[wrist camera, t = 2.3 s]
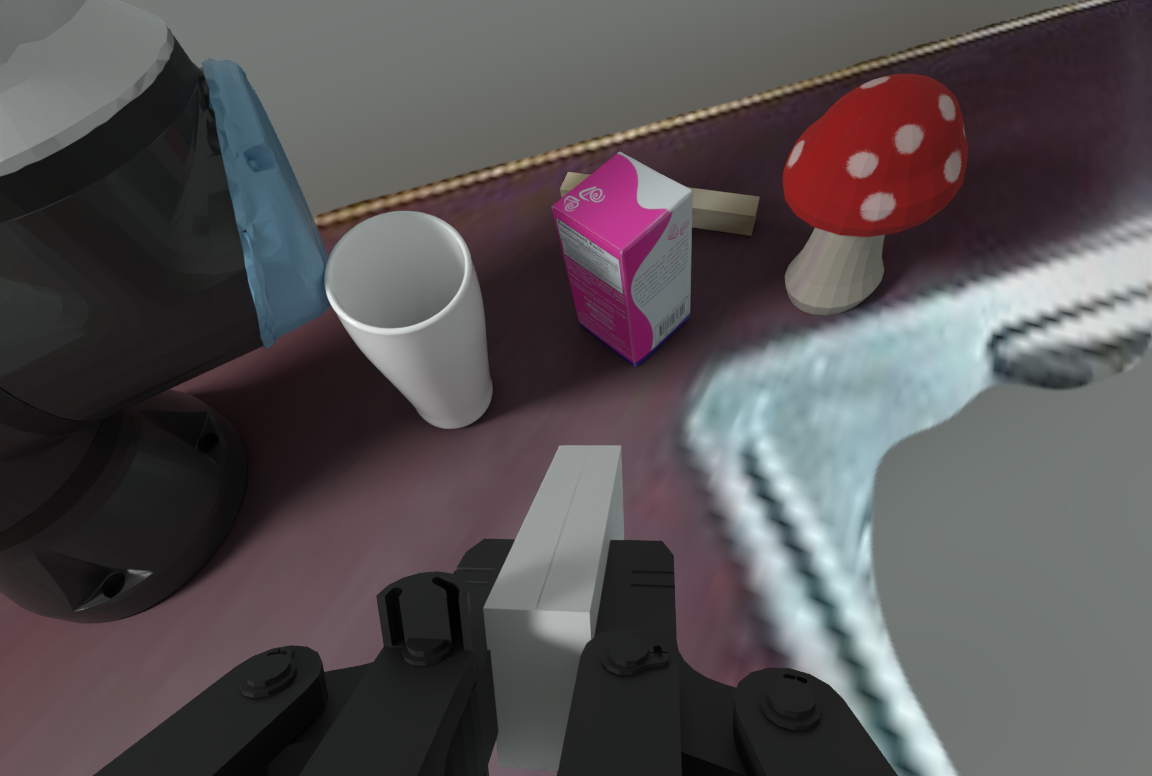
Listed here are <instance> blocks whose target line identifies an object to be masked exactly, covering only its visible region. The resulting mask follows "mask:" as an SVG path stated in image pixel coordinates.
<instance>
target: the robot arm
mask: <svg viewBox="0 0 1152 776" xmlns="http://www.w3.org/2000/svg"><path fill="white" fill-rule="evenodd" d="M202 65H203V67H201V68H198V67H197V66H196V65H195V64H194V63H193V62H192V61H191V60H190V59H189V57H188V56H187V54H186V53H185V51H184V50H183V49H182V47H181V46H180V44H179V43H178V41H177V40H176V38H175V37H174V35H173V34H172V32H171V30H170V29H169V28H168V27H167V25H166V24H165V23H164V22H163V21H162V20H161V19H160V18H159V17H158V16H157V15H155V14H152V13H150V12H147V11H145V10H142V9H139V8H137V7H134V6H132V5H129V4H127V3H124V2H121V1H119V0H0V592H1V593H2V594H4V595H5V596H6V597H8V598H9V599H10V600H12V601H13V602H15V603H16V604H17V605H19V606H20V607H22V608H24V609H26V610H28V611H31V612H33V613H36V614H39V615H42V616H46V617H51V618H56V619H61V620H66V621H71V622H77V623H103V622H109V621H114V620H118V619H122V618H125V617H128V616H131V615H134V614H136V613H138V612H141V611H143V610H145V609H147V608H149V607H151V606H153V605H155V604H156V603H158V602H160V601H161V600H163V599H164V598H166V597H168V596H169V595H170V594H172V593H173V592H175V591H176V590H177V589H179V588H180V587H181V586H182V585H183V584H185V583H186V582H187V581H188V580H189V579H190V578H191V577H193V576H194V575H195V574H196V573H197V572H198V571H199V570H200V569H201V568H202V567H203V565H204V564H205V563H206V562H207V561H208V560H209V559H210V557H211V556H212V555H213V554H214V552H215V551H216V550H217V548H218V547H219V545H220V544H221V543H222V541H223V539H224V538H225V536H226V535H227V533H228V531H229V529H230V528H231V526H232V524H233V522H234V520H235V517H236V515H237V513H238V510H239V508H240V505H241V502H242V498H243V495H244V490H245V485H246V478H247V459H246V453H245V448H244V445H243V442H242V440H241V437H240V435H239V433H238V432H237V430H236V429H235V427H234V426H233V425H232V424H231V422H230V421H229V420H227V419H226V418H225V417H224V416H223V415H221V414H220V413H218V412H217V411H216V410H214V409H213V408H211V407H210V406H209V405H207V404H206V403H204V402H203V401H201V400H199V399H198V398H195V397H193V396H191V395H189V394H186V393H183V392H179V391H175V390H171V389H170V388H173V387H175V386H177V385H179V384H181V383H183V382H186V381H188V380H190V379H192V378H194V377H197V376H199V375H201V374H203V373H205V372H207V371H210V370H212V369H214V368H216V367H218V366H221V365H223V364H225V363H227V362H229V361H231V360H234V359H236V358H238V357H240V356H242V355H245V354H247V353H249V352H251V351H253V350H255V349H258V348H260V347H262V346H263V347H264V348H268V347H271V346H272V345H273V344H274V343H275V340H276V339H277V338H279V337H281V336H283V335H285V334H287V333H289V332H291V331H293V330H294V329H296V328H298V327H300V326H302V325H304V324H306V323H308V322H310V321H312V320H314V319H316V318H318V317H319V316H321V315H322V314H323V313H324V312H325V311H327V309H328V308H329V307H330V305H331V304H330V302H329V300H328V297H327V294H326V291H325V285H324V274H325V268H326V264H327V261H328V258H329V257H328V254H327V252H326V249H325V246H324V244H323V241H322V238H321V236H320V233H319V231H318V228H317V226H316V224H315V221H314V219H313V216H312V214H311V211H310V209H309V207H308V204H307V202H306V200H305V197H304V195H303V192H302V190H301V188H300V186H299V184H298V181H297V179H296V177H295V174H294V172H293V170H292V168H291V165H290V163H289V161H288V158H287V156H286V154H285V152H284V150H283V147H282V145H281V143H280V141H279V139H278V137H277V134H276V132H275V130H274V128H273V126H272V124H271V122H270V120H269V118H268V115H267V113H266V111H265V109H264V107H263V105H262V103H261V101H260V100H259V98H258V96H257V94H256V92H255V90H254V89H253V88H252V86H251V84H250V83H249V81H248V79H247V76H246V74H245V72H244V71H243V69H242V68H241V67H240V66H239V65H238V64H237V63H235V62H233V61H230V60H223V61H215V60H213V59H208V60H206V61H204V62H203V63H202ZM376 597H377V603H378V610H379V616H380V623H381V630H382V636H383V643H384V647H383V649H382V650H381V652H380V653H379V655H378V656H377V658H376V659H375V661H374V662H372V663H368V664H364V665H360V666H355V667H349V668H344V669H338V670H333V671H327V672H324V669H323V664H322V661H321V658H320V656H319V654H318V652H316V651H314V650H312V649H310V648H308V647H303V646H286V647H280V648H274V649H270V650H268V651H265V652H263V653H260V654H258V655H255V656H253V657H251V658H249V659H248V660H246V661H244V662H243V663H241V664H239V665H238V666H236V667H235V668H233V669H232V670H231V671H229V672H228V673H227V674H225V675H224V676H223V677H222V678H220V679H219V680H218V681H216V682H215V683H214V684H212V685H211V686H210V687H208V688H207V689H206V690H205V691H203V692H202V693H201V694H199V695H198V696H197V697H195V698H194V699H193V700H191V701H190V702H189V703H188V704H186V705H185V706H184V707H182V708H181V709H180V710H178V711H177V712H176V713H174V714H173V715H172V716H170V717H169V718H168V719H167V720H165V721H164V722H163V723H161V724H160V725H159V726H157V727H156V728H155V729H153V730H152V731H151V732H150V733H148V734H147V735H146V736H144V737H143V738H142V739H140V740H139V741H138V742H136V743H135V744H134V745H132V746H131V747H130V748H129V749H127V750H126V751H125V752H123V753H122V754H121V755H119V756H118V757H117V758H115V759H114V760H113V761H112V762H110V763H109V764H108V765H106V766H105V767H104V768H102V769H101V770H100V771H98V772H97V773H96V774H95V775H93V776H489V771H488V763H489V760H490V757H491V754H492V750H493V747H494V744H495V741H496V740H497V750H498V760H499V767H511V768H524V769H537V770H549V771H558V773H557V776H898V775H897V774H896V772H895V771H894V770H893V768H892V767H891V765H890V764H889V763H888V761H887V760H886V758H885V757H884V756H883V754H882V753H881V751H880V750H879V749H878V747H877V746H876V744H875V743H874V742H873V740H872V739H871V737H870V736H869V734H868V733H867V732H866V730H865V729H864V727H863V726H862V725H861V723H860V722H859V720H858V719H857V718H856V716H855V715H854V713H853V712H852V711H851V709H850V708H849V706H848V705H847V704H846V702H845V701H844V699H843V698H842V697H841V696H840V695H839V694H838V693H837V692H836V691H835V690H834V689H833V688H832V687H831V686H830V685H828V684H826V683H825V682H823V681H821V680H819V679H818V678H816V677H814V676H812V675H810V674H807V673H804V672H800V671H797V670H793V669H789V668H766V669H762V670H759V671H755V672H752V673H750V674H749V675H747V676H746V677H745V678H744V679H743V680H741V681H740V682H739V683H738V686H737V688H735V687H732V686H729V685H725V684H722V683H719V682H717V681H714V680H712V679H709V678H707V677H705V676H703V675H701V674H700V673H698V672H697V671H695V670H693V669H692V668H691V667H690V666H689V665H688V664H687V663H686V662H685V661H684V659H683V658H682V656H681V654H680V653H679V651H678V646H677V640H676V611H675V583H674V555H673V554H672V553H671V552H670V550H669V549H668V548H667V547H666V545H665V544H664V543H663V542H662V541H642V540H624V519H623V490H622V460H621V446H559V448H558V450H557V452H556V454H555V456H554V458H553V461H552V463H551V465H550V467H549V469H548V471H547V473H546V476H545V478H544V480H543V482H542V484H541V486H540V488H539V490H538V493H537V495H536V497H535V499H534V501H533V503H532V505H531V507H530V510H529V512H528V514H527V516H526V518H525V520H524V522H523V524H522V527H521V529H520V531H519V533H518V535H517V537H516V539H515V540H512V539H483V540H482V541H481V542H479V543H478V544H476V545H475V546H474V547H472V548H471V549H470V550H468V551H467V552H466V553H465V555H464V556H463V558H462V560H461V561H460V563H459V565H458V566H457V571H454V573H453V574H450V573H444V572H426V573H418V574H415V575H411V576H408V577H404V578H402V579H400V580H398V581H396V582H394V583H392V584H390V585H388V586H387V587H386V588H385V589H383V590H382V591H381V592H380V593H379V594H378V595H377V596H376Z"/></svg>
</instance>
